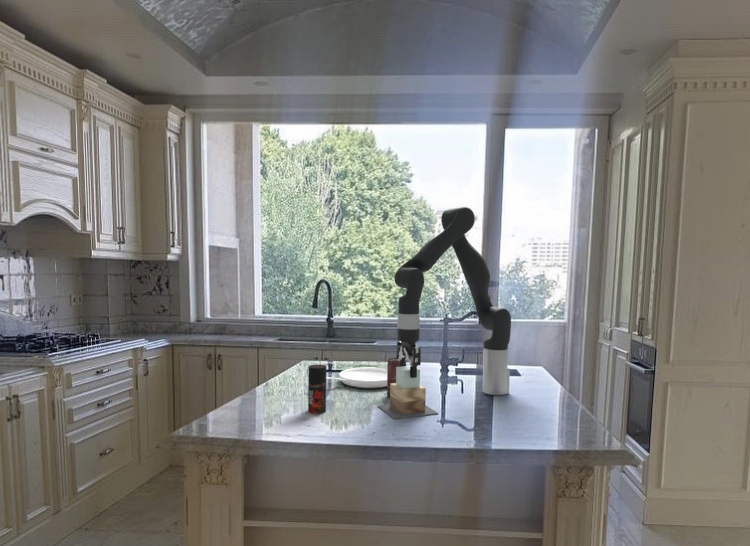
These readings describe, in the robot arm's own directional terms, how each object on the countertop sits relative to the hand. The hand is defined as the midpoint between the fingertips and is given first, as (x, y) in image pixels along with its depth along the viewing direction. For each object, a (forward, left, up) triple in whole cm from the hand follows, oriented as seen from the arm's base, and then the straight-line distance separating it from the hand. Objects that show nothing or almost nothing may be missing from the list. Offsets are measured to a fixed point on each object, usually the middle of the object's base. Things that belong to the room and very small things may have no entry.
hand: (407, 374), depth 161 cm
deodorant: (+29, -9, -12) cm, 33 cm away
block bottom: (0, 0, -12) cm, 12 cm away
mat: (0, 0, -12) cm, 12 cm away
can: (-3, -17, -12) cm, 21 cm away
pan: (+5, -38, -13) cm, 41 cm away
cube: (0, 0, -4) cm, 4 cm away
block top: (0, 0, -8) cm, 8 cm away
